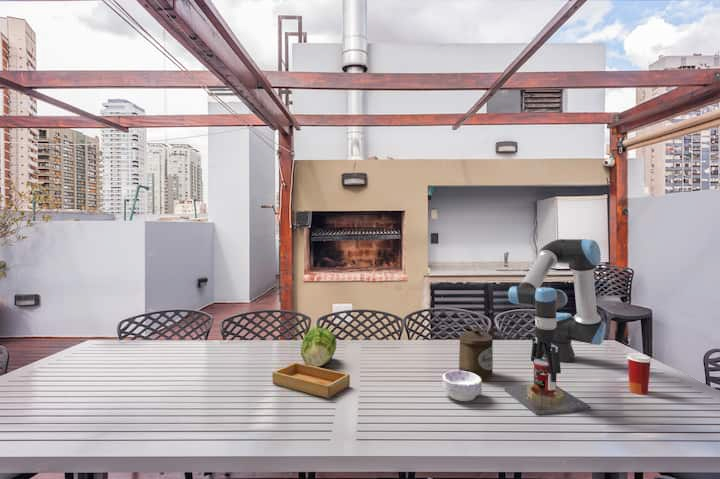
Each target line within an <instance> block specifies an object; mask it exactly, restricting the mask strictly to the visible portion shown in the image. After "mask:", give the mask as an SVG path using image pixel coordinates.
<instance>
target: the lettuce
mask: <svg viewBox="0 0 720 479" xmlns="http://www.w3.org/2000/svg"><path fill="white" fill-rule="evenodd" d="M336 349H337V339H336V336H335V334H334V333H333V332H332V331H331V330H330V329H328V328H325V327H314V328H312V329H309V330H308V331H307V333H305V335H304V337H303V338H302V342H301V346H300V355H301V357H302V360H303V362H304V363H305V364H306V365H310V366H314V367H319V368H320V367H322V366H324V365H327V363H328V362H330V360H332V358H333V356H334V355H335V352H336Z"/></svg>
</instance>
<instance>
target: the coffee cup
mask: <svg viewBox="0 0 720 479" xmlns="http://www.w3.org/2000/svg"><path fill="white" fill-rule="evenodd" d="M626 359H627V369H628V387H629V392H632V393H633V394H637V395H641V396H642V395H644V396H645V395H648V392H649V383H650V373H651V372H650V371H651V363H652V359H651V357H650V356H648V355H646V354H643V353H638V352H629V353H628V354H627V356H626Z"/></svg>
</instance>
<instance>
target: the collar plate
mask: <svg viewBox="0 0 720 479" xmlns="http://www.w3.org/2000/svg"><path fill="white" fill-rule="evenodd" d="M503 388H504V389H503V391H505V392H506V393H508V394H509V395H510V396H511V398H512V397H513V398H514V399H515V400H516V401H517V402H519V404H522V405H523V407H525V408H527V409H528V410H529V411H531V412H532V413H533V414H534V415H535V416H542V415H554V414H565V413H567V414H569V413H577V412H578V413H579V412H591V411H592V406H591V405H589V404H587V403H586V402H584V401H582V400H580V399H579V398H577V397H576V396H574V395H572V394H571V393H569V392H567V390H566V391H565V390H564V389H562V388H561V387H560V386H557V385H556V391H555V392H554V393H544V392H540V391H538V390H536V389H535V388H534V384H523V385H522V384H521V385H510V386H509V385H508V386H507V385H506V386H504V387H503Z"/></svg>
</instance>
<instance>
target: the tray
mask: <svg viewBox="0 0 720 479" xmlns="http://www.w3.org/2000/svg"><path fill="white" fill-rule="evenodd" d="M350 377H351V376H350V374H349V373H345V372H340V371H336V370H332V369H327V368H323V367H320V366H319V367H314V366H310V365H308V364H306V363H300V362H293V363H291V364H289V365H286V366H284V367H281V368H278V369H277V370H275V371H273V372H272V384H274V385H278V386H280V387H281V386H282V387H285V388H287V389H288V388H289V389H292V390H295V391H300V392H304V393H307V394H310V395H315V396H318V397H322V398H325V399H331V398H332V397H333V396H335V395H337V394H339V393H340V392H342V391H344V390H345V389H346V388H348V387H350V384H351V381H350Z"/></svg>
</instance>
